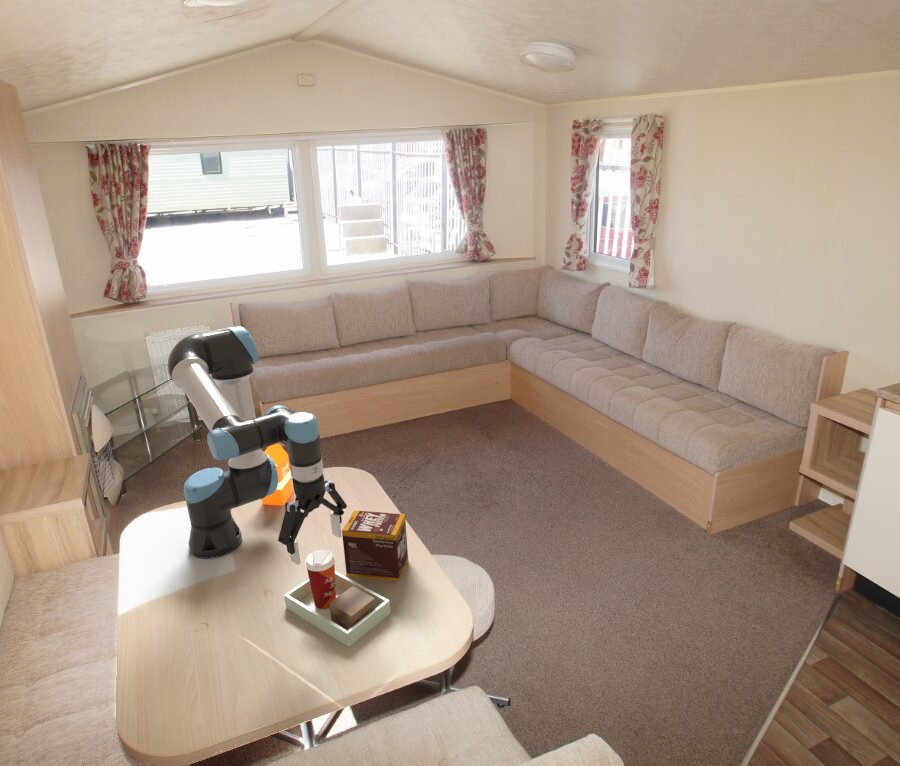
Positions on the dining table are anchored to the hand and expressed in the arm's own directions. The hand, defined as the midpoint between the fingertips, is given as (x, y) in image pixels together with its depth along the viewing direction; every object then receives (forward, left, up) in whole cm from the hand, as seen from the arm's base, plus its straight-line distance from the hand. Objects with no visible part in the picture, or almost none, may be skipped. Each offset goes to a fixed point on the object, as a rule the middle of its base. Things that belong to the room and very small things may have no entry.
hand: (317, 548), depth 167 cm
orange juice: (-54, +27, -18) cm, 63 cm away
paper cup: (0, 0, -17) cm, 17 cm away
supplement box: (+1, +19, -18) cm, 26 cm away
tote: (+5, 0, -17) cm, 18 cm away
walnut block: (+11, 0, -17) cm, 20 cm away
